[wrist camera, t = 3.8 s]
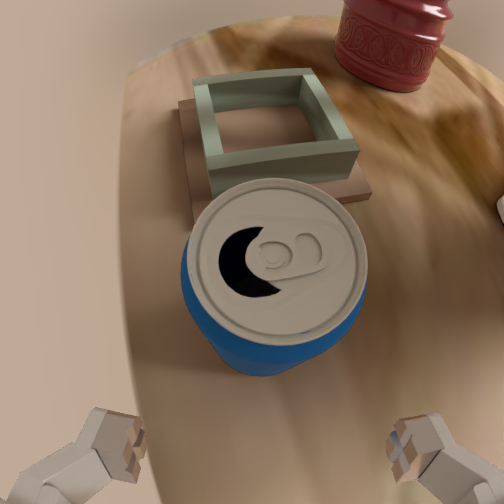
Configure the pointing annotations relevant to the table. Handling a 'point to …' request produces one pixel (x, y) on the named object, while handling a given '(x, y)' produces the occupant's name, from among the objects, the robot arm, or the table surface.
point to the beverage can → (274, 274)
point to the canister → (391, 40)
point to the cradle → (267, 135)
